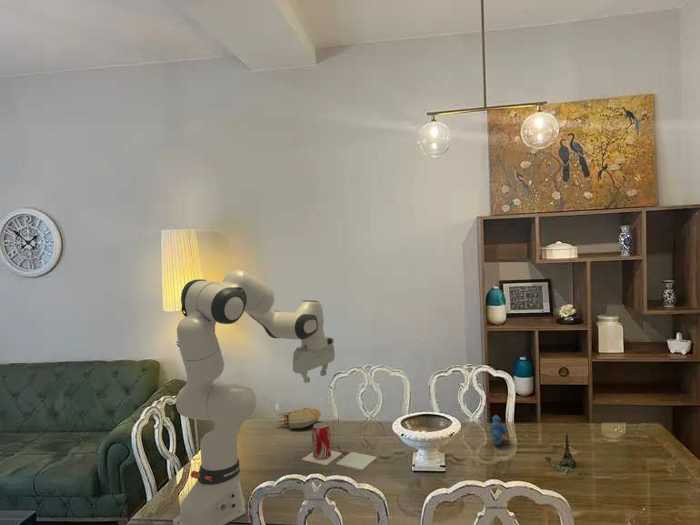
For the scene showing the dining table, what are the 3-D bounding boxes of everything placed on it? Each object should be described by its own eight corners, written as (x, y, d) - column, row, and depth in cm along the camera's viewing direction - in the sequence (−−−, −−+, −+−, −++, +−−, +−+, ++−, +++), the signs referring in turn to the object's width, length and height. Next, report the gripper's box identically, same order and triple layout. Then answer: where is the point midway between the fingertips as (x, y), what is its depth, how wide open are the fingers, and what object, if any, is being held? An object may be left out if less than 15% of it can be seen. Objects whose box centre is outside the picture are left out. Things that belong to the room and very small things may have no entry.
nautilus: (270, 434, 219) (277, 423, 234) (319, 430, 217) (323, 419, 232) (268, 416, 219) (275, 406, 234) (317, 412, 217) (321, 402, 232)
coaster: (362, 470, 179) (362, 469, 179) (336, 464, 185) (336, 463, 185) (376, 458, 189) (376, 457, 189) (351, 453, 194) (351, 451, 194)
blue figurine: (509, 452, 189) (508, 420, 188) (490, 451, 191) (489, 419, 190) (508, 439, 200) (507, 410, 199) (490, 438, 202) (489, 409, 201)
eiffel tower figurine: (542, 458, 184) (541, 422, 183) (569, 456, 184) (568, 420, 184) (562, 477, 169) (561, 438, 168) (591, 475, 169) (590, 436, 169)
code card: (326, 465, 185) (326, 464, 185) (301, 459, 191) (301, 459, 190) (342, 453, 194) (342, 453, 194) (318, 448, 200) (318, 448, 200)
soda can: (328, 460, 188) (327, 428, 188) (310, 459, 190) (309, 428, 189) (333, 452, 195) (331, 421, 195) (315, 451, 197) (314, 421, 196)
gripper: (300, 349, 179) (302, 388, 180) (336, 337, 195) (338, 372, 196) (287, 348, 183) (289, 385, 184) (324, 336, 199) (326, 370, 200)
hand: (315, 378), depth 190 cm, fingers open, 8 cm apart
